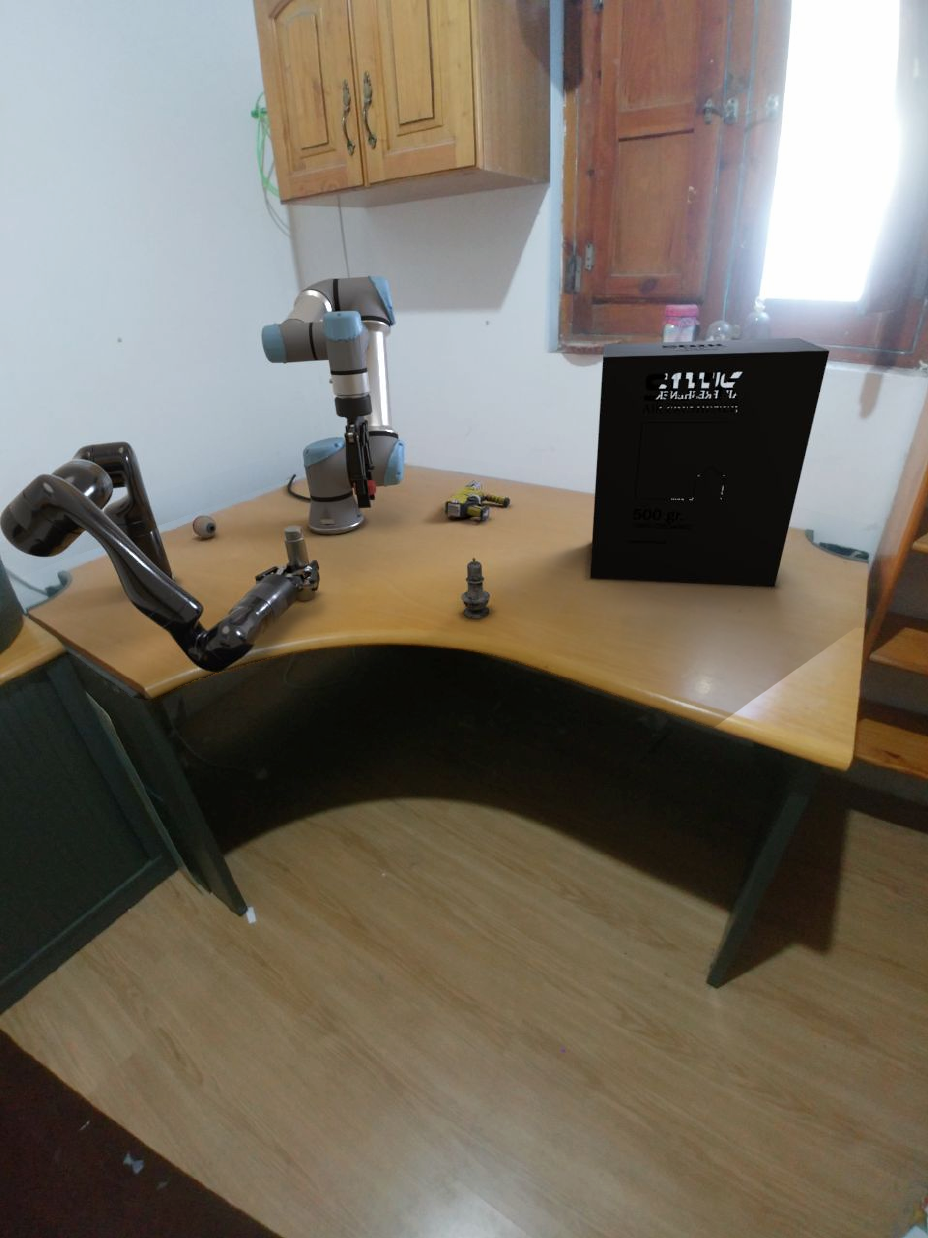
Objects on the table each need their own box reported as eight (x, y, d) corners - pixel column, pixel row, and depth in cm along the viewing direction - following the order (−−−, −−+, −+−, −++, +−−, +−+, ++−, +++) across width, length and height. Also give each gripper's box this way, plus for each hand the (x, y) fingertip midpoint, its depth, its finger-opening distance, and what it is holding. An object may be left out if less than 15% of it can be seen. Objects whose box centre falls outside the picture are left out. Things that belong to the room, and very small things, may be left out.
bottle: (302, 602, 130) (287, 533, 122) (293, 596, 132) (278, 528, 125) (319, 596, 132) (305, 528, 124) (309, 590, 135) (296, 523, 127)
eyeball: (206, 542, 163) (200, 521, 160) (191, 538, 166) (185, 518, 163) (224, 534, 167) (218, 514, 164) (209, 531, 170) (203, 510, 167)
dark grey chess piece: (488, 619, 119) (486, 564, 113) (459, 618, 120) (455, 563, 114) (493, 605, 124) (491, 551, 118) (465, 604, 125) (462, 550, 119)
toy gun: (518, 485, 181) (471, 478, 185) (495, 509, 161) (443, 500, 165) (516, 500, 184) (470, 493, 188) (494, 525, 164) (442, 517, 168)
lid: (371, 488, 138) (369, 478, 137) (380, 493, 134) (378, 483, 133) (351, 492, 136) (349, 482, 135) (360, 497, 132) (358, 487, 131)
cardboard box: (755, 547, 142) (798, 337, 120) (774, 586, 125) (829, 350, 102) (592, 542, 150) (603, 344, 127) (589, 578, 133) (603, 356, 110)
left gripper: (298, 585, 114) (333, 548, 128) (230, 581, 116) (272, 546, 131) (305, 619, 117) (339, 580, 132) (239, 615, 120) (279, 577, 135)
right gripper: (343, 388, 133) (358, 491, 144) (323, 403, 117) (341, 517, 129) (377, 387, 132) (389, 490, 144) (361, 401, 117) (376, 516, 128)
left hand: (305, 563), depth 131 cm, fingers closed on bottle, 4 cm apart
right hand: (366, 503), depth 136 cm, fingers closed on lid, 5 cm apart
